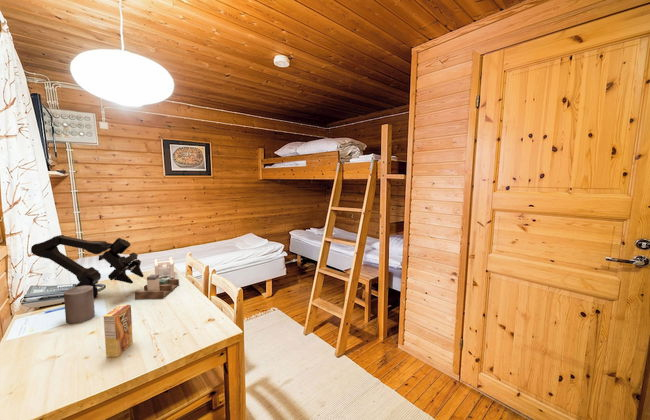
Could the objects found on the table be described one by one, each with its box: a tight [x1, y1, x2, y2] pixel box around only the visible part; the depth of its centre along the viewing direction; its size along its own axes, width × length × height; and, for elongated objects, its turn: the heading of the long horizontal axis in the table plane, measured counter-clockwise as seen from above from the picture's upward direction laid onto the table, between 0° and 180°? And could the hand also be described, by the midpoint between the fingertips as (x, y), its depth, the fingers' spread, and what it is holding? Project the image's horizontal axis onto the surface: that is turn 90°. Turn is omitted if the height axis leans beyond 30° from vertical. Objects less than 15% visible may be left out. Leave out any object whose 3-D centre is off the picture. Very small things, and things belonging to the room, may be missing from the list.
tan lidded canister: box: [146, 274, 160, 291], centre depth 145 cm, size 4×4×10 cm
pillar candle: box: [63, 286, 96, 325], centre depth 119 cm, size 10×10×15 cm
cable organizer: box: [153, 256, 175, 279], centre depth 172 cm, size 15×11×12 cm
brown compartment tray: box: [134, 278, 180, 300], centre depth 149 cm, size 14×18×5 cm
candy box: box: [103, 304, 134, 358], centre depth 98 cm, size 9×4×15 cm, turn 6°
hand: (137, 279), depth 144 cm, fingers open, 9 cm apart
